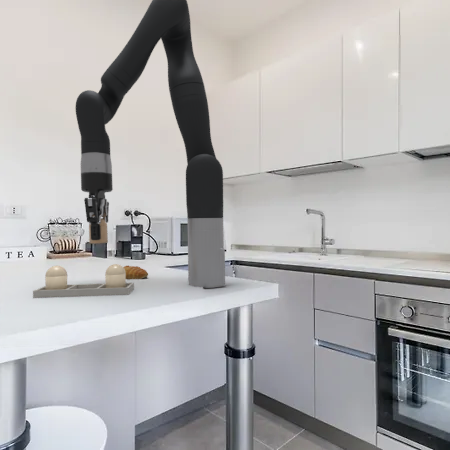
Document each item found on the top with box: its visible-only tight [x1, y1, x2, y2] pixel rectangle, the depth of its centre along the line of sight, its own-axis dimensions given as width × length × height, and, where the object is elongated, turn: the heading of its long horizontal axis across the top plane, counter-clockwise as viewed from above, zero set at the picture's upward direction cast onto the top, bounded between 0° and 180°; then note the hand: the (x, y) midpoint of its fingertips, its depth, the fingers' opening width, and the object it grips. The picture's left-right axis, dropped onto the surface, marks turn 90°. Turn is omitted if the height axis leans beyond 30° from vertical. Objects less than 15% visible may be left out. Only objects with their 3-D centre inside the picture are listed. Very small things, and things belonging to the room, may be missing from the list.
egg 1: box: [44, 265, 68, 290], centre depth 77 cm, size 4×4×6 cm
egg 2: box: [88, 217, 109, 244], centre depth 88 cm, size 4×4×6 cm
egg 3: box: [104, 263, 127, 288], centre depth 79 cm, size 4×4×6 cm
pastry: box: [122, 265, 149, 280], centre depth 105 cm, size 9×7×4 cm
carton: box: [32, 282, 135, 299], centre depth 78 cm, size 20×7×2 cm, turn 95°
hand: (98, 239), depth 88 cm, fingers closed on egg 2, 4 cm apart
